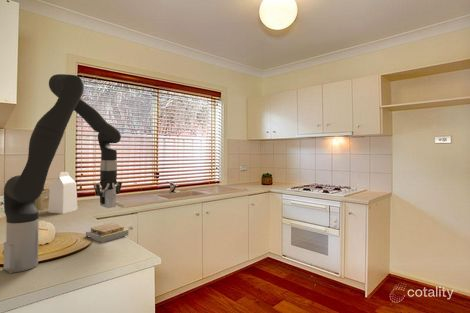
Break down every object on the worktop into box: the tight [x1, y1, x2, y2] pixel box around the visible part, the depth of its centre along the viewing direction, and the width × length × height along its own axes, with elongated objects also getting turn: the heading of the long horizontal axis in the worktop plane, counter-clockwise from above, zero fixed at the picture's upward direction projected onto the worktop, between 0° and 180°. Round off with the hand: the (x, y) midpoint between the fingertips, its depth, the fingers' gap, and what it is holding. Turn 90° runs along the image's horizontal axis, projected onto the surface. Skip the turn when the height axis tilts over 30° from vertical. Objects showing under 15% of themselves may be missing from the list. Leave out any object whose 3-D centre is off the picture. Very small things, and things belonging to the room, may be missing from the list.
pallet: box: [90, 222, 125, 236], centre depth 134 cm, size 11×11×2 cm
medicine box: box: [99, 189, 117, 209], centre depth 133 cm, size 8×4×9 cm, turn 48°
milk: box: [47, 171, 78, 215], centre depth 179 cm, size 12×12×26 cm
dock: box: [85, 228, 130, 243], centre depth 134 cm, size 14×14×3 cm
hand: (107, 203), depth 133 cm, fingers closed on medicine box, 5 cm apart
